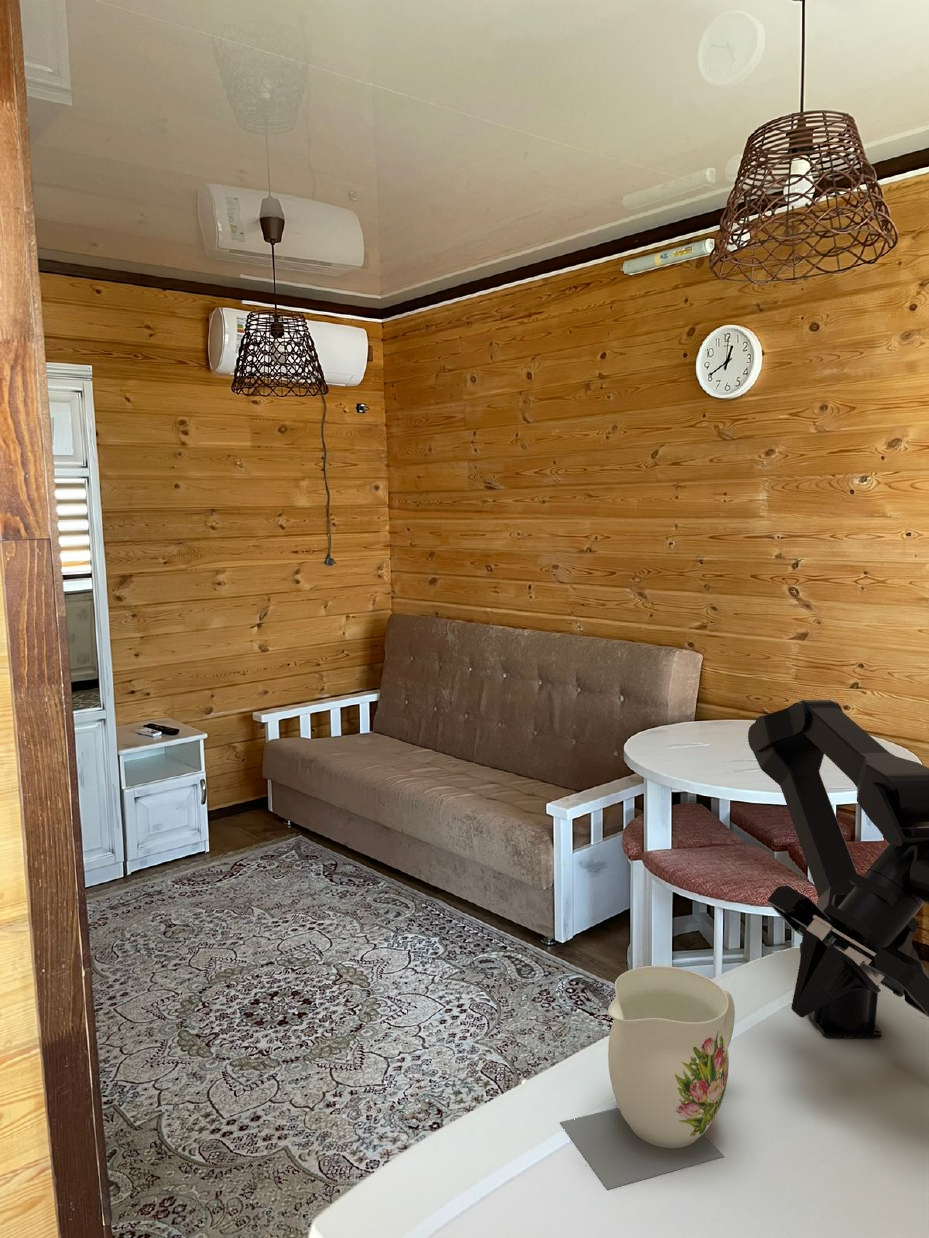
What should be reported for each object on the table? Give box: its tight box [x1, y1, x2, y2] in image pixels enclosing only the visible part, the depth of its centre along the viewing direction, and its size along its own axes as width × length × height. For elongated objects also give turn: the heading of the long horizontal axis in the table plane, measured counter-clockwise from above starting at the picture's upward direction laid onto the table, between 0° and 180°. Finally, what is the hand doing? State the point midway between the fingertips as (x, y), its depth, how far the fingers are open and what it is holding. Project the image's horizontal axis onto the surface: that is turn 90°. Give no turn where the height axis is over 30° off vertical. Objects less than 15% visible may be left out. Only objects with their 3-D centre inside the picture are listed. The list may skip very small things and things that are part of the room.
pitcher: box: [607, 965, 736, 1148], centre depth 86 cm, size 11×18×14 cm, turn 129°
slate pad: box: [559, 1107, 725, 1191], centre depth 85 cm, size 12×9×1 cm
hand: (796, 1013), depth 89 cm, fingers closed
